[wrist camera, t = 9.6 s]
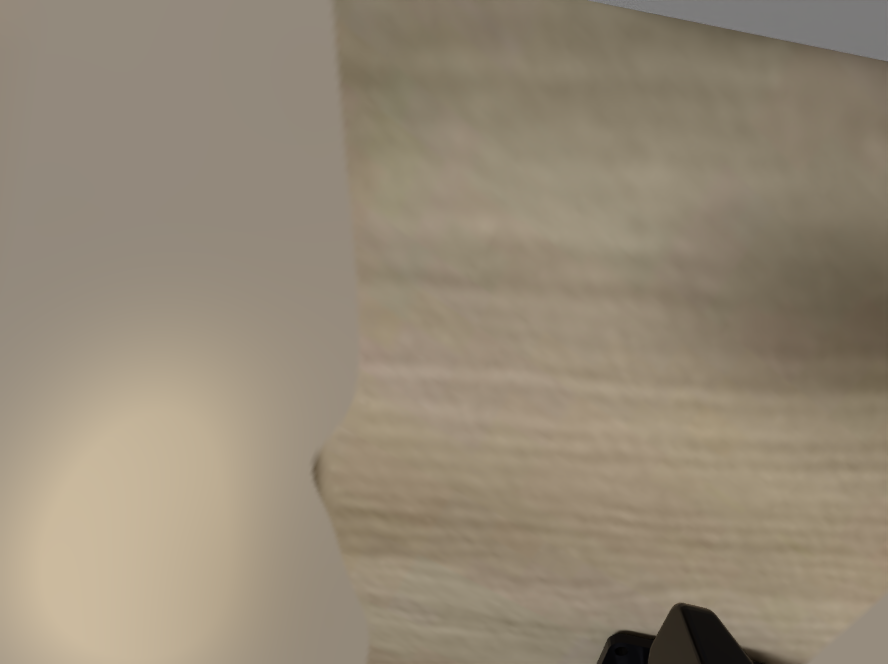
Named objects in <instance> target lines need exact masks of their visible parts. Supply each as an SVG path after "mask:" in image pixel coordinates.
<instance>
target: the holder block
mask: <svg viewBox="0 0 888 664" xmlns="http://www.w3.org/2000/svg"><path fill="white" fill-rule="evenodd" d="M589 1H594V2H599V3H604V4H609V5H614V6H619V7H624V8H629V9H633V10H638V11H643V12H648V13H653V14H658V15H663V16H668V17H673V18H678V19H682V20H687V21H692V22H697V23H702V24H707V25H712V26H717V27H722V28H727V29H731V30H736V31H741V32H746V33H751V34H756V35H761V36H766V37H771V38H776V39H781V40H785V41H790V42H795V43H800V44H805V45H810V46H815V47H820V48H825V49H830V50H834V51H839V52H844V53H849V54H854V55H859V56H864V57H869V58H874V59H879V60H883V61H888V0H589Z"/></svg>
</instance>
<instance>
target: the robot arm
mask: <svg viewBox="0 0 888 664" xmlns="http://www.w3.org/2000/svg"><path fill="white" fill-rule="evenodd" d="M597 664H764V663H759V662H754V661H751V660H750V658H749V657H748V656H747V655H746V653H745V652H744V651H743V649H742V648H741V647H740V645H739V644H738V643H737V642H736V640H735V639H734V638H733V636H732V635H731V634H730V632H729V631H728V630H727V628H726V627H725V626H724V625H723V623H722V622H721V621H720V619H719V618H718V617H717V616H716V615H715V613H713V612H712V611H711V610H709V609H707V608H703V607H699V606H694V605H690V604H686V603H677V604H676V605H674V606H673V607H672V609H671V610H670V612H669V614H668V616H667V617H666V619H665V621H664V623H663V625H662V627H661V629H660V630H659V632H658V634H657V636H656V638H655V640H650V639H645V638H640V637H636V636H631V635H626V634H614V635H612V636H610V637H609V638H608V640H607V642H606V644H605V646H604V649H603V651H602V653H601V655H600V658H599V660H598V662H597Z"/></svg>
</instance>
